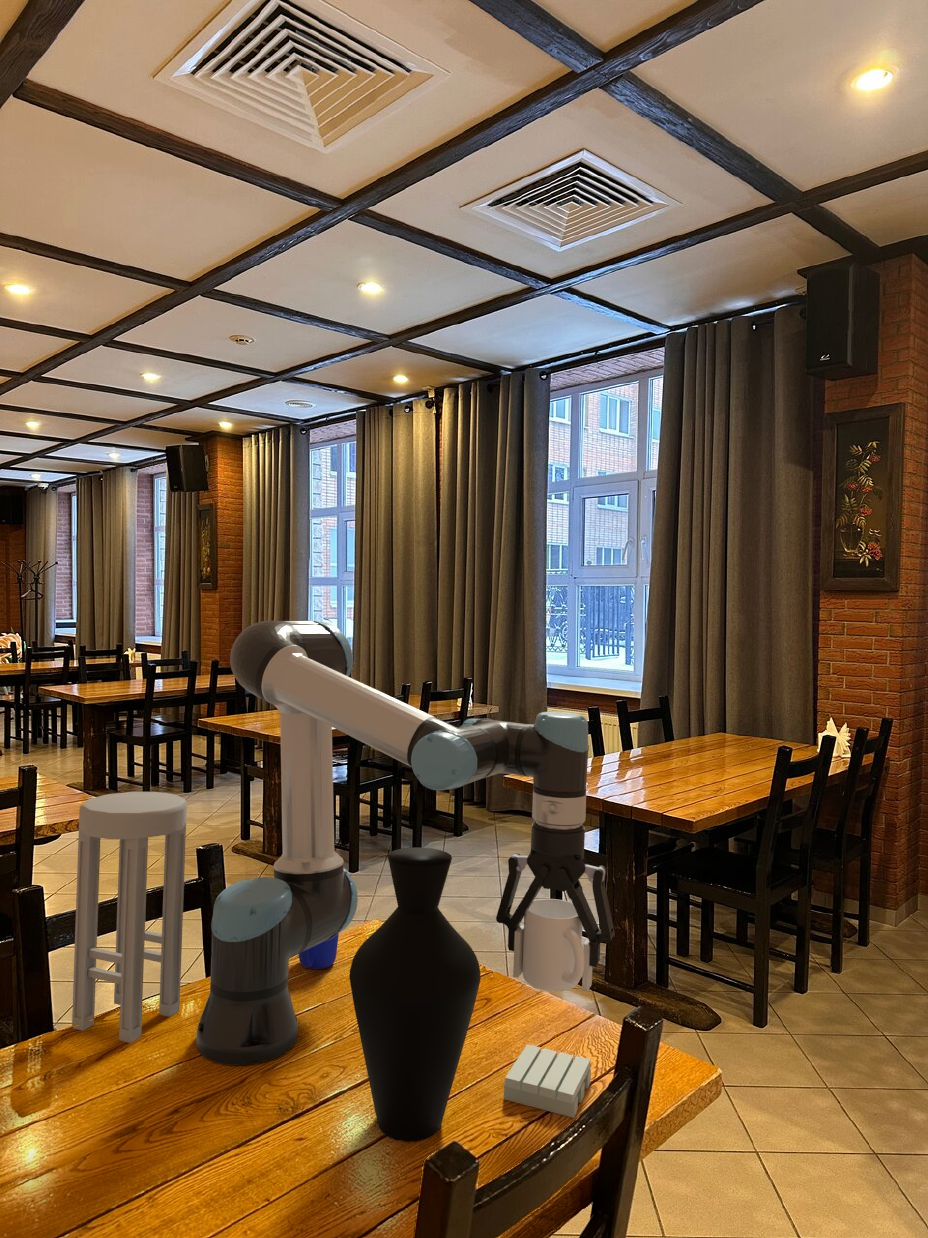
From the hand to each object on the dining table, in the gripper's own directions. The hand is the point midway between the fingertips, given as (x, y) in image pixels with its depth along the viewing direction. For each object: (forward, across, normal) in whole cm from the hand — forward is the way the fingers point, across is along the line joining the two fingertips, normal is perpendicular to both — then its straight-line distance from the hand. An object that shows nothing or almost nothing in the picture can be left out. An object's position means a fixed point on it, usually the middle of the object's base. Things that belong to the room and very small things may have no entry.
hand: (552, 980), depth 120 cm
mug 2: (+1, +1, 0) cm, 1 cm away
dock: (+16, 0, 0) cm, 16 cm away
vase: (+16, -14, -15) cm, 26 cm away
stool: (+16, -67, -10) cm, 69 cm away
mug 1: (+16, -51, +20) cm, 57 cm away
